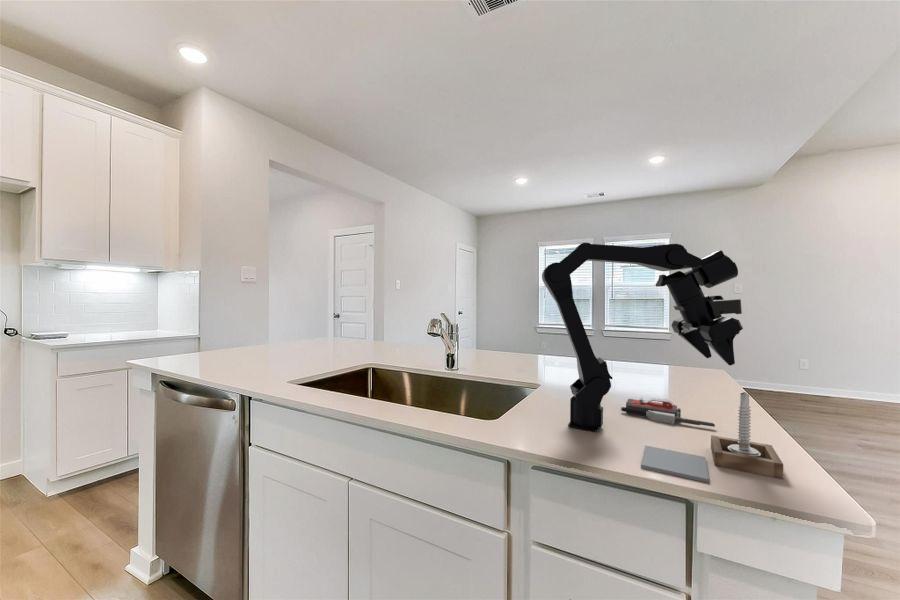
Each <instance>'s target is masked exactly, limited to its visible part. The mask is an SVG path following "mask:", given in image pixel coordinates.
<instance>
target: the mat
mask: <svg viewBox="0 0 900 600" xmlns="http://www.w3.org/2000/svg"><path fill="white" fill-rule="evenodd" d="M640 469H645V470H648V471H654V472H657V473H658V472H659V473H662V474H667V475H671V476H676V477H681V478H685V479H690V480H695V481H699V482H703V483H708V484H709V483H710V476H709V470H708V464H707V459H706V456H703V455H696V454H692V453H687V452H682V451H677V450H671V449H666V448H662V447H657V446H650V445H646V444H645V445H644V450H643V453H642V458H641V463H640Z"/></svg>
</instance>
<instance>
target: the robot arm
mask: <svg viewBox="0 0 900 600" xmlns="http://www.w3.org/2000/svg"><path fill="white" fill-rule="evenodd" d="M587 261H588V262H589V261H590V262H601V263H602V262H603V263H614V264H615V263H616V264H629V265H638V266H641V267H644V268H648V269H651V270H655V271H659V272H669V271H670V272H671V271H675V272H673V273H670V274H669V275H666V274H659V275H658V279H657V281H656V283H655V285H654V286H655V287H665V286H667V288H668V291H669V293H670V295H671V297H672V299H673V301H674V303H675V304H674V305H673V308H674V310H675V311H678V312H679V314H680V315H681V317H680V318H677V319H674V320H673V321H672V323H671V327H672V330H673V332H674V333H676V334H677V335H678V336H679V337H680V338H682V339H683V340H685V342H687V343H688V344H689V345H691V347H693V348H694V349H695V350H696V351H698V352H699V353H700V354H701V355H702V356H703V357H704V358H706V359H711V358H712V353H711V349H712V350H713V352H714V353H716V355H718V356H719V358H720V359H722V360H723V362H725V364H727V365H728V366H733V365H735V364H736V362H735V361H736V360H735V352H734V339H735V337H736V336H737V335H739V334H740V332H741V331H742V330H743V329H744V327H743V325H742V323H741V321H740V320H739V319H737V318H734V317H729V316H722V315H730V314H735V315H741V314H743V311H742V300H741V298H725V299H724V297H723V296H722V295H705V294H704V292H703V290H702V287H704V288H708V289H711V288H714V287H715V286H718V285H721V284H723V283H726V282H728V281H730V280H733V279H735V278H737V277H738V275H739V269H738V266H737V264H736V262H734V261H733V260H732V258H730V257H729V256H728V255H725V253H724V251H723V250H722V249H721V250H717V251H713V252H711V253H710V254H709V255H707V256H705V257H702V258H701V257H698V256H696V255H694V254H693V253H690V252H688V250H687V249H686V248H685V246H684V245H682V244H679V243H668V244H667V243H666V244H659V245H651V246H650V245H649V246H629V245H628V246H626V245H612V244H598V243H590V242H582V243H580V244H579V245H577V246H576V247H575V248H574V250H573V251H572V252H570V253H569V254H568V255H567V256H565V257H564V258H563V259H562V260H560V261H559V262H557V261H556V262H552V263H550V264H549V265H547V266H546V267H545V268H544V269H543V271H542V274H541V279H542V282H543V284H544V285H545V287H546V289H547V291H548V292H549V294H550V295H551V297H552V299H553V300H554V301H555V303H556V305H557V308H558V311H559V313H560V316H561V319H562V321H563V324H564V327H565V330H566V332H567V335H568V338H569V341H570V342H571V347H572V349H573V352H574V354H575V357H576V365H577V373H578V378H577V379H576V380H575V381H574V382H573V383H572V384H570V385H569V388H570V391H571V394H572V395H573V396H571V398H570V400H569V401H570V405H569V406H570V407H569V408H570V409H569V410H570V411H569V416H570V417H569V421H568V422H569V423H568V424H567V426H568V427H569V428H575V429H579V430H585V431H591V432H596V433H597V432H599V429H600V428H602V427H603V425H604V407H603V406H601V403H602V400H603V398H604V396H606V395H607V394H608V393H609V391H610V389H611V388H612V382H611V380H613V377H612V375H610V372H609V368H608V364H607V361H605V360H604V359H603V358H601V357H598V358H597V357H596V355H595V353H594V351H593V347H592V345H591V342H590V340H589V337H588V334H587V332H586V329H585V327H584V324H583V322H582V318H581V315H580V313H579V310H578V308H577V305H576V302H575V300H574V294H573V292H574V291H573V283H572V279H571V274H572V273H574V272H575V271H576V270H578V268H580V267H581V266H582V265H583V264H584V263H586V262H587ZM686 269H690V270H688V271H685V272H683V271H681V270H686ZM677 270H678V271H677ZM710 348H711V349H710Z"/></svg>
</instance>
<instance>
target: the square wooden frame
mask: <svg viewBox="0 0 900 600" xmlns="http://www.w3.org/2000/svg"><path fill="white" fill-rule="evenodd" d="M738 441H739V439H738V438H737V439H736V438H730V437H725V436H718V435H713V434H712V435H710V449H711V454H712V455H711V456H712V458H713V459H712V460H713V463H714V466H717V467H722V468H726V469H730V470H731V469H732V470H736V471H739V472H740V471H741V472H746V473H751V474H757V475H761V476H767V477H772V478H777V479H782V480H783V479H784V463H783V461H782V460H781V458H780V457H779V455H778V453H777V451H776V450H775V449H774V447H773V445H772V444H768V443H760V442H754V441H750V444H749V445H750V447H752V448H754V449H756V450H758V452H760V453H761V457H754V456H748V455H743V454H737V453H732V452H730V451H728V446H730V445H733V444H738V445H739V443H738Z"/></svg>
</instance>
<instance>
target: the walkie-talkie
mask: <svg viewBox="0 0 900 600" xmlns="http://www.w3.org/2000/svg"><path fill="white" fill-rule="evenodd" d="M620 411H621V412H624V413H625V414H626V415H632V416H637V417H643V418H647V419H649V420H652V421H654V422H658V423H665V424H671V425H675V423H678V424H679V423H683V424H689V425H695V426H705V427H713V428H714V427H715V426H716V425H715V423H714V422H708V421H702V420H696V419H689V418H685V417H684V418H682V415H681V411H682V410H681V408H678V405H676V404H673V401H671V400H670V399H661V398H657V397H655V398H654V397H652V398H650V399H648V400H644V398H643V397H640V398H639V399H633V398H628V399H627V400H626V403H625V407H624V406H621V407H620Z"/></svg>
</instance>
